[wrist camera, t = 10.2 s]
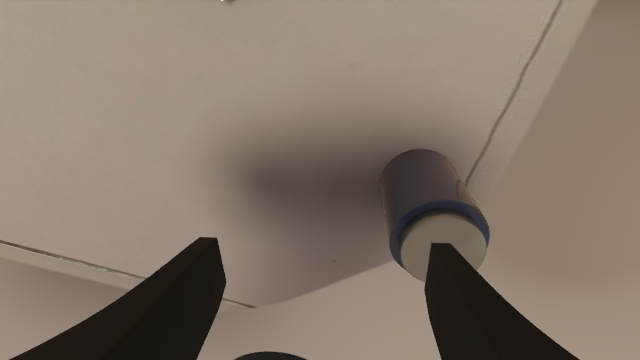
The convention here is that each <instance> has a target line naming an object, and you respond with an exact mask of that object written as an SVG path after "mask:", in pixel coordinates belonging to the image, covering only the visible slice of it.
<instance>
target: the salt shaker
mask: <svg viewBox="0 0 640 360" xmlns="http://www.w3.org/2000/svg"><path fill="white" fill-rule="evenodd" d="M380 190H381V196H382V202H383V209H384V215H385V221H386V227H387V233H388V239H389V246H390V251H391V253H392V256H393V257H394V259H395V260H396V262H397V263H398V264H399V265H400V266H401V267H402V268H404V269H405V270H407V271H408V272H409V273H410V274H411V275H412V276H413V277H415V278H416V279H418V280H421V281H423V282H426V275H427V269H428V262H429V255H430V249H431V243H451V244H452V245H453V246H454V247H455V248H456V249H457V250H458V252H459V253H460V254H461V255H462V256H463V257H464V258H465V259H466V260H467V261H468V262H469V263H470V265H471V266H472V267H473V268H474V269H475V270H477V269H478V268H479V267H480V265H481V264H482V262H483V261H484V258H485V256H486V251H487V247H488V243H489V238H490V231H489V226H488V223H487V221H486V219H485V218H484V216H483V214H482V213H481V211H480V210H479V208H478V206H477V205H476V203H475V202H474V200H473V198H472V197H471V195H470V193H469V192H468V190H467V189H466V187H465V185H464V184H463V182H462V181H461V179H460V177H459V176H458V174H457V172H456V171H455V169H454V168H453V166H452V164H451V163H450V162H449V161H448V160H447V159H446V158H445V157H444V156H442V155H441V154H439V153H437V152H434V151H430V150H413V151H409V152H406V153H403V154H401V155H399V156H398V157H396V158H395V159H393V160H392V161H391V162H390V163H389V164H388V165H387V167H386V168H385V170H384V171H383V174H382V176H381V180H380Z"/></svg>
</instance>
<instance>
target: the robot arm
mask: <svg viewBox="0 0 640 360" xmlns="http://www.w3.org/2000/svg"><path fill="white" fill-rule="evenodd" d="M225 286H226V278H225V273H224V269H223V264H222V259H221V254H220V249H219V245H218V240H217V238H209V237H200V238H198V239H197V240H196V241H194V242H193V243H192V244H190V245H189V246H188V247H186V248H185V249H184V250H183V251H181V252H180V253H179V254H178V255H176V256H175V257H174V258H173V259H171V260H170V261H169V262H168V263H166V264H165V265H164V266H163V267H161V268H160V269H159V270H157V271H156V272H155V273H154V274H152V275H151V276H150V277H148V278H147V279H146V280H144V281H143V282H141V283H140V284H139V285H137V286H136V287H134V288H133V289H132V290H130V291H129V292H128V293H126V294H125V295H124V296H122V297H120V298H119V299H118V300H116V301H115V302H113V303H112V304H110V305H108V306H107V307H105V308H104V309H102V310H101V311H99V312H97V313H96V314H94V315H92V316H91V317H89V318H88V319H86V320H84V321H82V322H81V323H79V324H77V325H75V326H73V327H72V328H70V329H68V330H66V331H64V332H63V333H61V334H59V335H57V336H55V337H53V338H52V339H50V340H48V341H46V342H44V343H42V344H40V345H38V346H37V347H34V348H32V349H30V350H28V351H26V352H24V353H22V354H20V355H18V356H16V357H14V358H12V359H9V360H196V359H197V357H198V355H199V352H200V350H201V348H202V346H203V344H204V341H205V339H206V337H207V335H208V332H209V330H210V328H211V326H212V323H213V321H214V319H215V316H216V314H217V312H218V309H219V306H220V303H221V300H222V296H223V293H224V289H225ZM424 290H425V296H426V302H427V308H428V313H429V319H430V322H431V326H432V329H433V333H434V336H435V339H436V343H437V346H438V349H439V353H440V356H441V359H442V360H579V359H578V358H576V357H575V356H574V355H572V354H571V353H569V352H568V351H567V350H565V349H564V348H563V347H561V346H560V345H559V344H557V343H556V342H555V341H553V340H552V339H551V338H550V337H548V336H547V335H546V334H544V333H543V332H542V331H541V330H539V329H538V328H537V327H536V326H534V325H533V324H532V323H531V322H530V321H529V320H527V319H526V318H525V317H524V316H523V315H522V314H520V313H519V312H518V311H517V310H516V309H515V308H514V307H513V306H511V304H509V303H508V302H507V301H506V300H505V299H504V298H503V297H502V296H501V295H500V294H499V293H498V292H497V291H496V290H495V289H494V288H493V287H492V286H491V285H490V284H488V282H487V281H486V280H485V279H484V278H483V277H482V276H481V275H480V274H479V273H478V272H477V271H476V270H475V269H474V268H473V267H472V266H471V265H470V263H469V262H468V261H467V260H466V259H465V258H464V257H463V256H462V255H461V254H460V253H459V252H458V250H457V249H456V248H455V247H454V246H453V245H452V244H451V243H431V249H430V255H429V262H428V269H427V275H426V282H425V289H424Z"/></svg>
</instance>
